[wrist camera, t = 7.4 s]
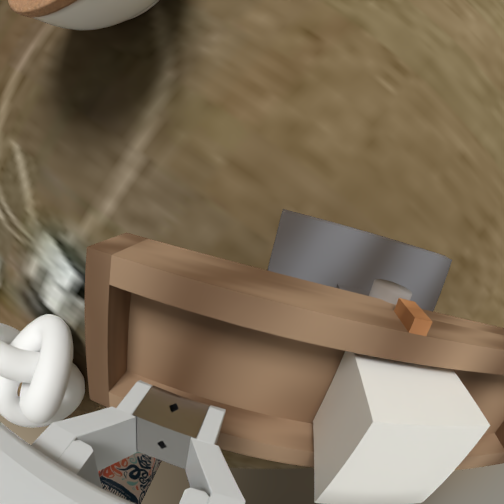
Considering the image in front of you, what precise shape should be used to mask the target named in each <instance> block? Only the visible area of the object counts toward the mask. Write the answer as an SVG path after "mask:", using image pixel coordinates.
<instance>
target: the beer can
mask: <svg viewBox="0 0 504 504" xmlns="http://www.w3.org/2000/svg"><path fill="white" fill-rule="evenodd" d="M161 461H162V460H159V459H156V458H154V457H151V456H148V455H146V454H143V453H140V452H138V451H136V453H134V454H132V455H130V456H129V457H127V458H125V459H122V460H120V461H118V462H116V463H114V464H112V465H110V466H108V467H106V468H104V469H102V470H99V471H98V474H99V478H100V481H101V485H102V488H103V489H105V490H107V491H109V492H111V493H113V494H115V495H117V496H119V497H122V498H124V499H126V500H128V501H131V502H133V503H135V504H141V502H142V500H143V498H144V496H145V494H146V492H147V490H148V488H149V486H150V484H151V481H152V480H153V477H154V475H155V473H156V471H157V469H158V467H159V465H160V463H161Z"/></svg>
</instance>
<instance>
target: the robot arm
mask: <svg viewBox="0 0 504 504" xmlns="http://www.w3.org/2000/svg"><path fill="white" fill-rule="evenodd" d="M225 412H226V410H225V409H223V408H219V407H216V406H212V405H211V406H210V405H208V404H205V403H202V402H198V401H195V400H192V399H189V398H186V397H183V396H179V395H177V394H174V393H171V392H169V391H166V390H164V389H161V388H159V387H156V386H153V385H150V384H148V383H146V382H143V381H141V380H139V381H138V382H136V383H135V385H134V386H133V387H132V388H131V390H130V391H129V392H128V394H127V395H126V396H125V397H124V399H123V400H122V401H121V402H120V404H119V405H118V406H117V408H115V407H109V408H105V409H102V410H98V411H95V412H91V413H88V414H84V415H80V416H77V417H73V418H69V419H65V420H61V421H57V422H53V423H52V424H51V425H50V426H49V427H48V428H47V429H46V430H45V431H44V432H43V433H42V434H41V435H40V436H39V437H38V439H36V440H35V442H34V443H33V444H32V445H30V444H28V443H27V442H26V441H24V440H23V439H22V438H20V437H19V436H17V435H16V434H15V433H14V432H12V431H11V430H10V429H9V428H7V427H6V426H5V425H4V424H2V423H1V422H0V504H135V503H133V502H131V501H128V500H126V499H124V498H122V497H119V496H117V495H115V494H113V493H111V492H109V491H107V490H105V489H103V488H102V485H101V481H100V478H99V474H98V471H99V470H102V469H104V468H106V467H108V466H110V465H112V464H114V463H116V462H118V461H120V460H122V459H125V458H127V457H129V456H130V455H132V454H134V453H136V451H138V452H140V453H143V454H146V455H148V456H151V457H154V458H156V459H159V460H162V461H164V462H167V463H170V464H172V465H175V466H178V467H180V468H183V469H186V470H185V471H186V474H187V478H188V481H189V484H190V488H188V489H186V490H185V491H184V493H183V496H182V498H181V500H180V503H179V504H245V499H244V497H243V496H242V493H241V491H240V490H239V488H238V486H237V483H236V481H235V479H234V477H233V476H232V473H231V471H230V469H229V467H228V465H227V463H226V460H225V458H224V456H223V454H222V452H221V449H220V447H219V446H218V445H216V444H217V441H218V437H219V434H220V430H221V426H222V423H223V419H224V416H225Z"/></svg>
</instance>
